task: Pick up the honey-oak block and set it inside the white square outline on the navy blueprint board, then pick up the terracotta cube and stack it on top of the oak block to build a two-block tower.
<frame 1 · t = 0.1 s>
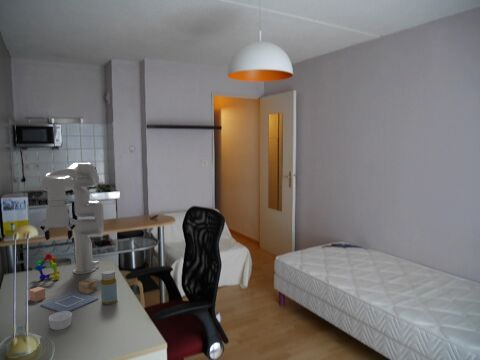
hand: (58, 238, 171), 31 cm above the table, tool pointing down, fingers open, 9 cm apart
terracotta cube: (37, 299, 177), on the table
ramekin: (61, 326, 151), on the table
educational toy: (48, 279, 204), on the table
blueprint board: (69, 302, 173), on the table
oak block: (87, 290, 187), on the table
bottle: (109, 302, 174), on the table
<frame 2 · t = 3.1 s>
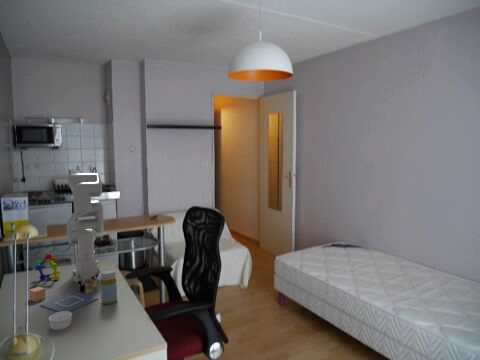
hand: (87, 289, 187), 1 cm above the table, tool pointing down, fingers closed on oak block, 6 cm apart
oak block: (88, 290, 187), on the table, touching gripper
everything else where it was.
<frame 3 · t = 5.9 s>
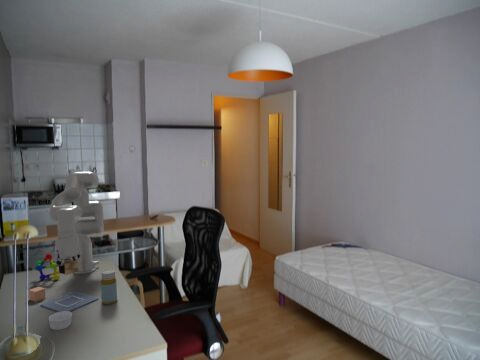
hand: (68, 270, 172), 16 cm above the table, tool pointing down, fingers closed on oak block, 6 cm apart
oak block: (68, 272, 172), point 15 cm above the table, touching gripper
everything else where it was.
when the fingers open (2 cm above the table, at t = 8.9 s): oak block drops 1 cm, resting on blueprint board.
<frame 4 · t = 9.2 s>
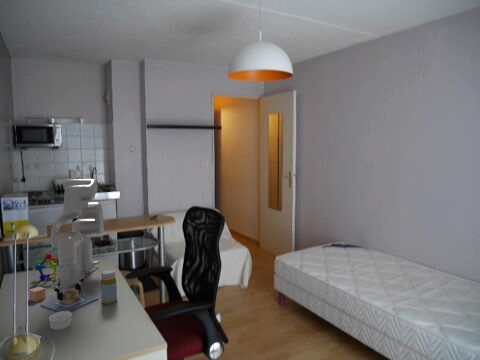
hand: (69, 296, 172), 3 cm above the table, tool pointing down, fingers open, 9 cm apart
oak block: (69, 301, 173), point 1 cm above the table, touching blueprint board
everything else where it was.
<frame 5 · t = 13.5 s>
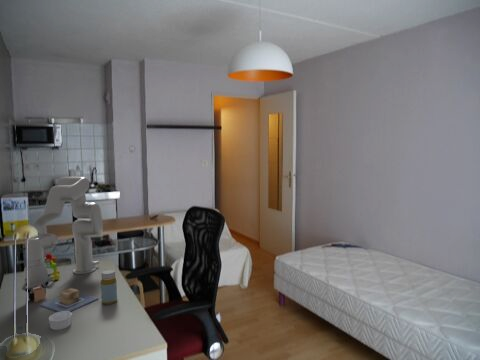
hand: (37, 297, 177), 0 cm above the table, tool pointing down, fingers closed on terracotta cube, 5 cm apart
terracotta cube: (37, 298, 177), on the table, touching gripper
everything else where it was.
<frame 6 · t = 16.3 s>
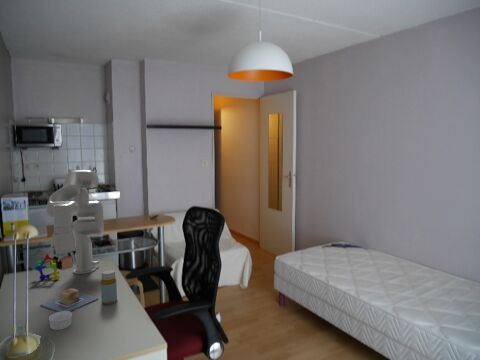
hand: (64, 266, 172), 18 cm above the table, tool pointing down, fingers closed on terracotta cube, 5 cm apart
terracotta cube: (64, 267, 172), point 17 cm above the table, touching gripper
everything else where it was.
when the fingers open (7 cm above the table, at t = 19.3 s): terracotta cube stays where it is, resting on oak block.
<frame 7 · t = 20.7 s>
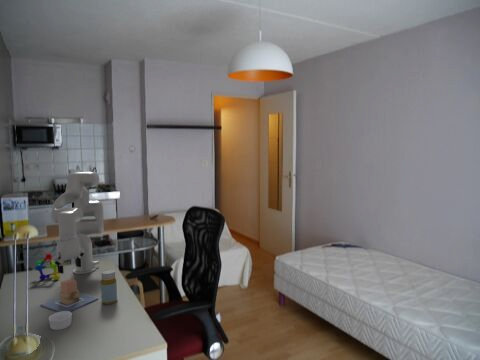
hand: (69, 269, 177), 14 cm above the table, tool pointing down, fingers open, 9 cm apart
terracotta cube: (69, 291, 172), point 6 cm above the table, touching oak block
oak block: (69, 301, 173), point 1 cm above the table, touching blueprint board, terracotta cube
everything else where it was.
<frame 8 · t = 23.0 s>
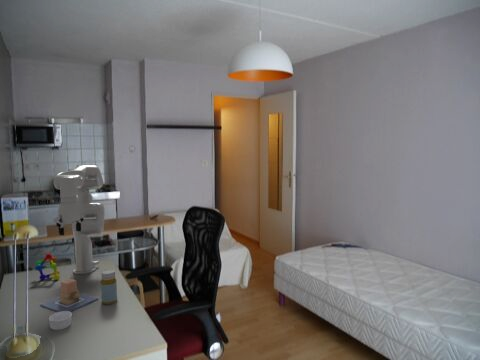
hand: (70, 233, 186), 30 cm above the table, tool pointing down, fingers open, 9 cm apart
nothing on the table moved.
at the end: oak block 0.0 cm off-centre on the blueprint board, point 0.6 cm above the blueprint board's base; terracotta cube 0.1 cm off-centre on the oak block, point 5.0 cm above the oak block's base; terracotta cube tilted 0° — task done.
